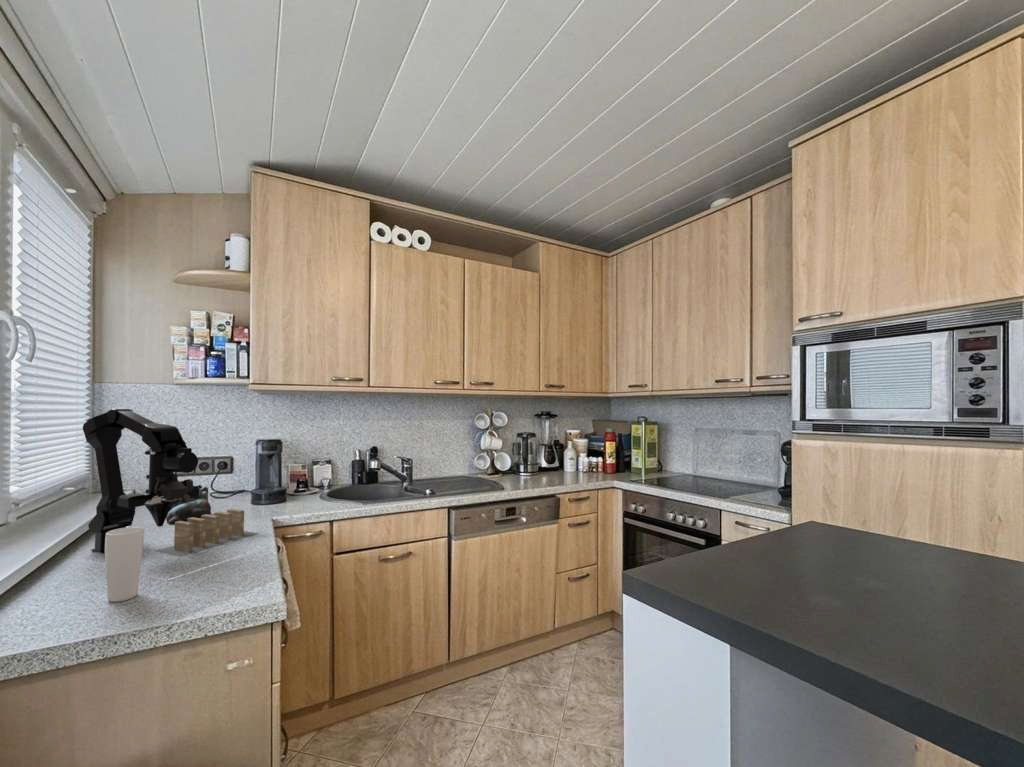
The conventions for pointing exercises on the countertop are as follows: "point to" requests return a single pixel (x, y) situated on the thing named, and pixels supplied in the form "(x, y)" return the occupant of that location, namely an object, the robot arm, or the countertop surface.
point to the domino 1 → (183, 536)
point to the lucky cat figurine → (190, 507)
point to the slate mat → (171, 550)
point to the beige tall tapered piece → (123, 562)
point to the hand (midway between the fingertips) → (159, 526)
